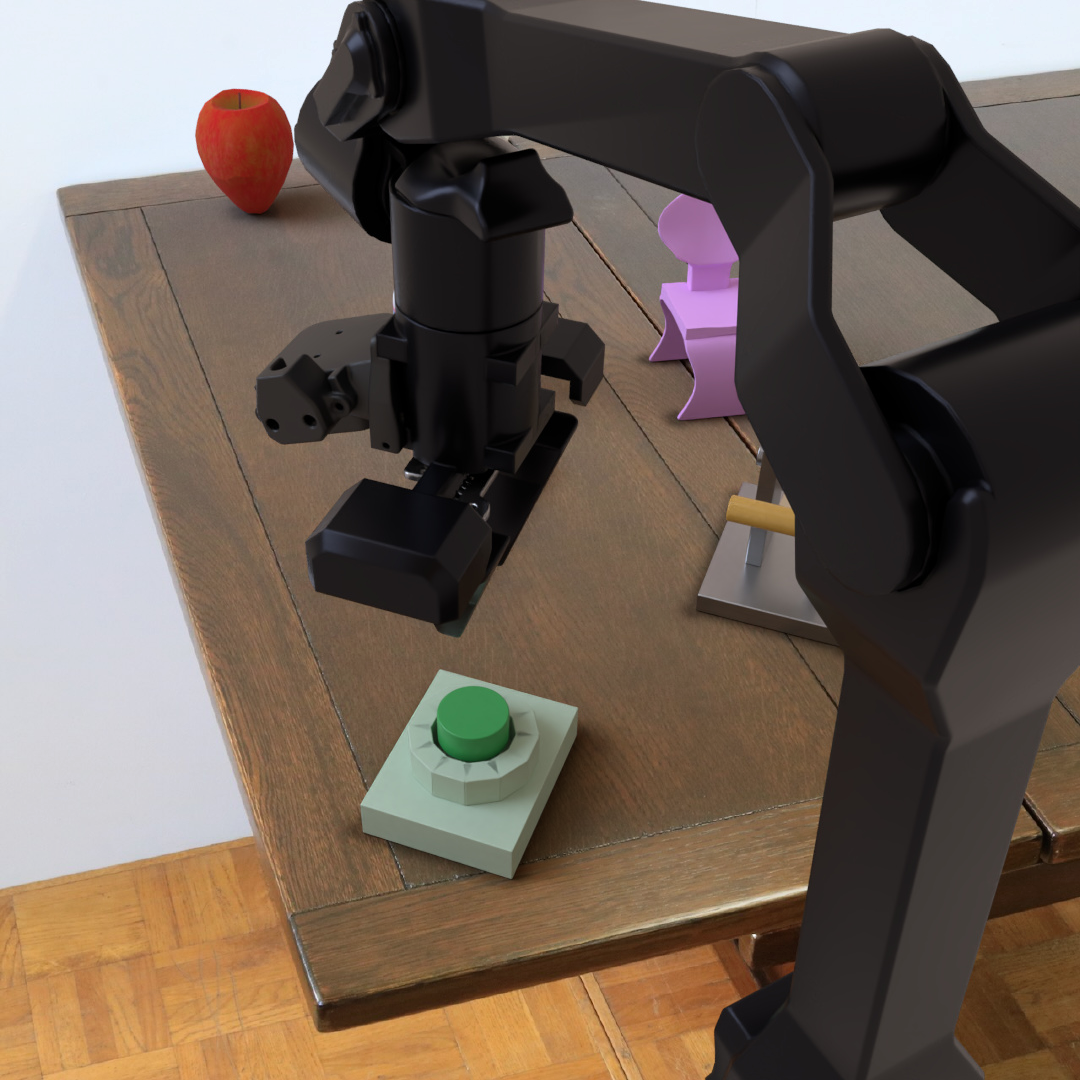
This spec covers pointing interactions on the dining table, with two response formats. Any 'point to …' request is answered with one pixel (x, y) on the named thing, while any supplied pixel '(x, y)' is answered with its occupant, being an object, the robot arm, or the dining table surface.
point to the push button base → (471, 782)
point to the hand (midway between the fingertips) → (472, 596)
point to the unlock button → (473, 723)
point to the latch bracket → (760, 573)
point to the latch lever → (762, 514)
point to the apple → (245, 146)
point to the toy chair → (701, 307)
